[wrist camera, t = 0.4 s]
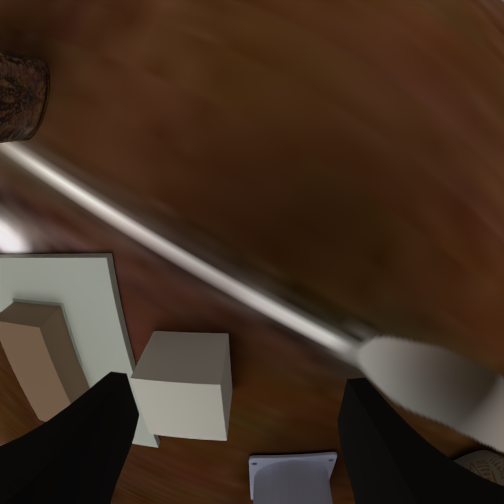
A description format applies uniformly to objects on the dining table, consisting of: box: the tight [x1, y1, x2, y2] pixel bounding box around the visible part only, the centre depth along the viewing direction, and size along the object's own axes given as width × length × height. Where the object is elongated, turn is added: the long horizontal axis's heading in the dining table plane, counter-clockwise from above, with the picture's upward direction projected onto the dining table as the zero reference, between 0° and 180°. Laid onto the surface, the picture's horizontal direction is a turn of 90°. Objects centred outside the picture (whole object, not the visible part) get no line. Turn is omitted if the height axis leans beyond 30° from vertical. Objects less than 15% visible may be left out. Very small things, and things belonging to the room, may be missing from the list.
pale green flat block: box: [0, 253, 160, 447], centre depth 20 cm, size 18×12×4 cm, turn 1°
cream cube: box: [130, 331, 232, 441], centre depth 19 cm, size 5×5×5 cm
